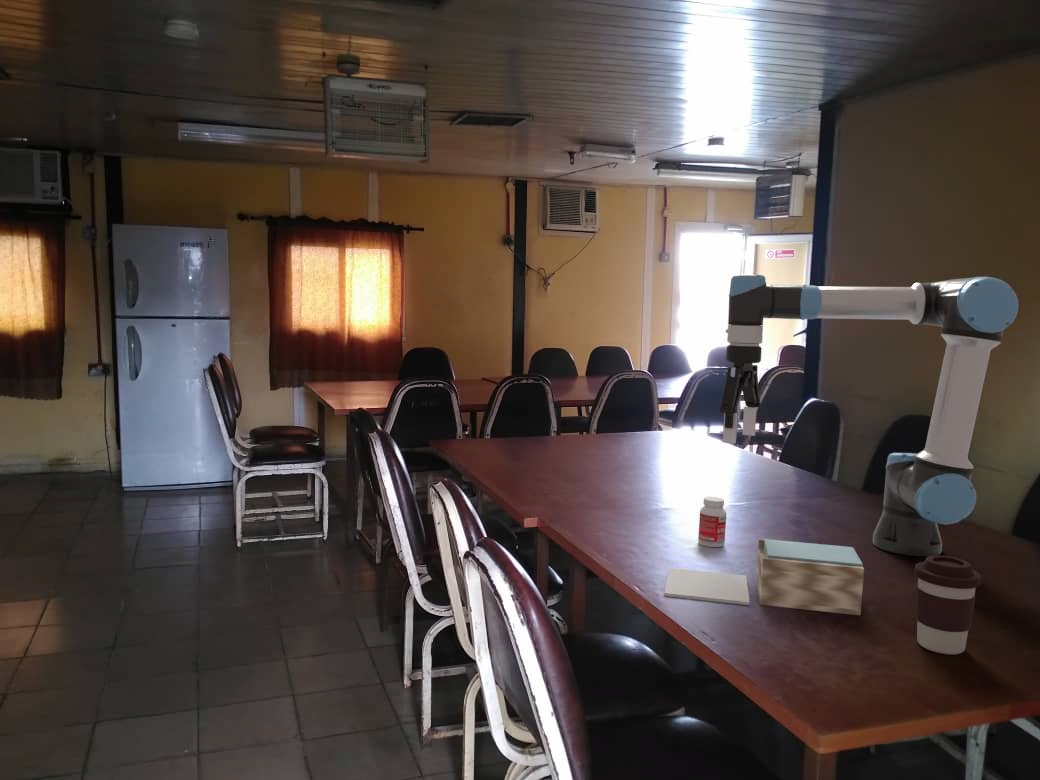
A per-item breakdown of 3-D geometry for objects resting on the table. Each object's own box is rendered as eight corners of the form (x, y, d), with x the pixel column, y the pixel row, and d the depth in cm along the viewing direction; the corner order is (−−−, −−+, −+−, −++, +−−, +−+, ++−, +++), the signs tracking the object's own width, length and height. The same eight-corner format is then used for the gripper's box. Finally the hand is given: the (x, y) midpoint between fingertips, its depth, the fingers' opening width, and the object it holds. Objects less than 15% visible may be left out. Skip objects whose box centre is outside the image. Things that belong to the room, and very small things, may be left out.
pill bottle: (720, 549, 192) (723, 503, 190) (694, 545, 195) (697, 499, 193) (727, 543, 197) (730, 498, 196) (702, 539, 200) (705, 494, 199)
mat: (745, 578, 172) (745, 575, 172) (749, 605, 156) (749, 602, 156) (668, 570, 176) (668, 567, 175) (664, 595, 160) (664, 593, 160)
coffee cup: (952, 635, 145) (960, 552, 144) (986, 659, 135) (995, 571, 134) (897, 634, 145) (904, 551, 143) (927, 658, 135) (935, 570, 133)
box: (848, 590, 167) (851, 547, 166) (860, 615, 153) (864, 568, 152) (756, 580, 171) (758, 538, 170) (760, 604, 157) (763, 558, 156)
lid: (851, 558, 165) (852, 547, 164) (861, 576, 154) (862, 564, 153) (763, 550, 168) (764, 539, 168) (767, 567, 157) (768, 555, 157)
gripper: (745, 342, 195) (740, 430, 198) (708, 345, 175) (703, 444, 177) (777, 343, 191) (771, 433, 194) (743, 347, 170) (737, 448, 173)
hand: (739, 439), depth 185 cm, fingers open, 13 cm apart
